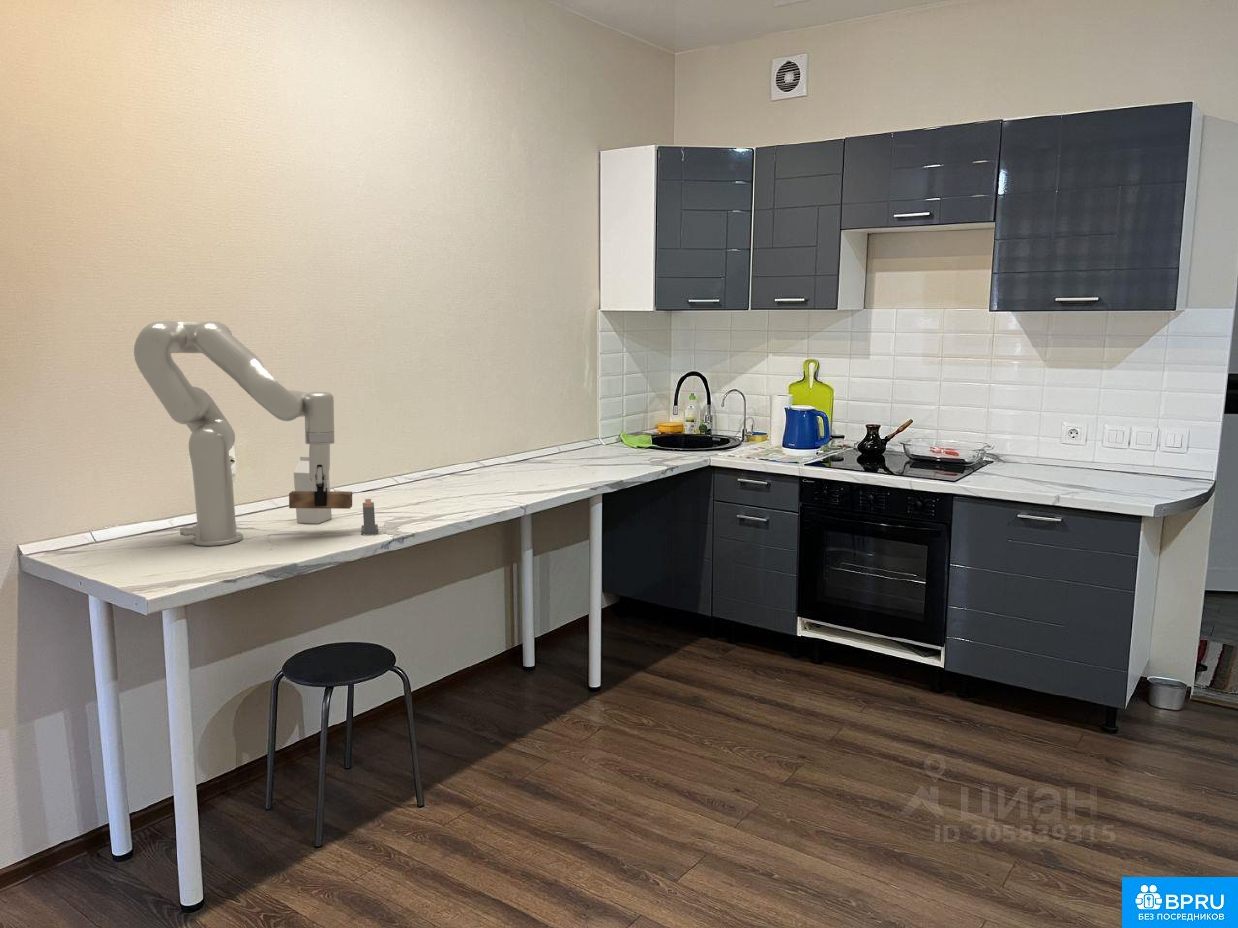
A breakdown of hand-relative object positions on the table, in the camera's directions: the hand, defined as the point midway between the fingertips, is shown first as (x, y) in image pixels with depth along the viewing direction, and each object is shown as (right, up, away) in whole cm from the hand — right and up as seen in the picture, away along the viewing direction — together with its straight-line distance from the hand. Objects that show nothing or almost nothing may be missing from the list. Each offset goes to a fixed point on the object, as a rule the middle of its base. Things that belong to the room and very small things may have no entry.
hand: (321, 503), depth 259 cm
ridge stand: (+12, -8, +5) cm, 15 cm away
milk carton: (-8, -6, +19) cm, 22 cm away
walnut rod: (0, -1, 0) cm, 1 cm away
